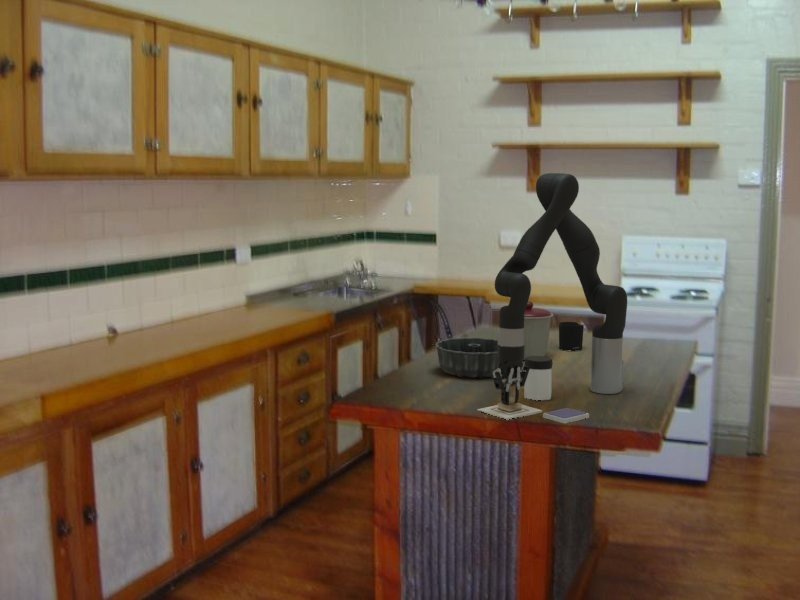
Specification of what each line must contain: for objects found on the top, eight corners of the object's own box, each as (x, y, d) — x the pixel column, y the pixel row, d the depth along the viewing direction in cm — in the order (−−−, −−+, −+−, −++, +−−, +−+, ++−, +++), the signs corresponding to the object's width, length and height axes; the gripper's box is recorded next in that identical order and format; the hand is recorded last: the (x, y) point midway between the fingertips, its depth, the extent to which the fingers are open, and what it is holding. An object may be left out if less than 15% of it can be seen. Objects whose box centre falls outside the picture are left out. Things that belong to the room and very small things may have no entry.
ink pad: (567, 411, 265) (567, 407, 264) (589, 417, 258) (589, 412, 258) (542, 417, 258) (543, 412, 258) (564, 423, 252) (564, 418, 252)
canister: (555, 363, 332) (557, 304, 329) (504, 362, 332) (505, 304, 329) (548, 353, 350) (549, 298, 347) (500, 353, 350) (501, 297, 347)
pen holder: (556, 350, 355) (557, 324, 354) (559, 346, 364) (560, 321, 363) (581, 352, 353) (582, 326, 351) (584, 347, 361) (584, 322, 360)
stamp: (509, 406, 268) (510, 382, 267) (521, 410, 264) (522, 385, 263) (497, 409, 265) (498, 384, 264) (509, 412, 261) (510, 387, 260)
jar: (557, 397, 281) (559, 358, 280) (542, 402, 275) (543, 362, 274) (533, 392, 287) (534, 354, 286) (517, 397, 282) (518, 358, 280)
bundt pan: (509, 384, 300) (510, 353, 298) (428, 379, 305) (429, 349, 304) (516, 367, 325) (516, 339, 324) (441, 363, 331) (441, 336, 329)
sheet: (512, 404, 273) (512, 401, 273) (542, 412, 264) (542, 410, 264) (477, 411, 265) (477, 409, 265) (507, 420, 255) (507, 418, 255)
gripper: (519, 338, 269) (517, 396, 271) (483, 343, 260) (482, 404, 262) (538, 342, 263) (536, 401, 265) (502, 347, 254) (501, 409, 257)
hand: (509, 402), depth 264 cm, fingers closed on stamp, 3 cm apart
